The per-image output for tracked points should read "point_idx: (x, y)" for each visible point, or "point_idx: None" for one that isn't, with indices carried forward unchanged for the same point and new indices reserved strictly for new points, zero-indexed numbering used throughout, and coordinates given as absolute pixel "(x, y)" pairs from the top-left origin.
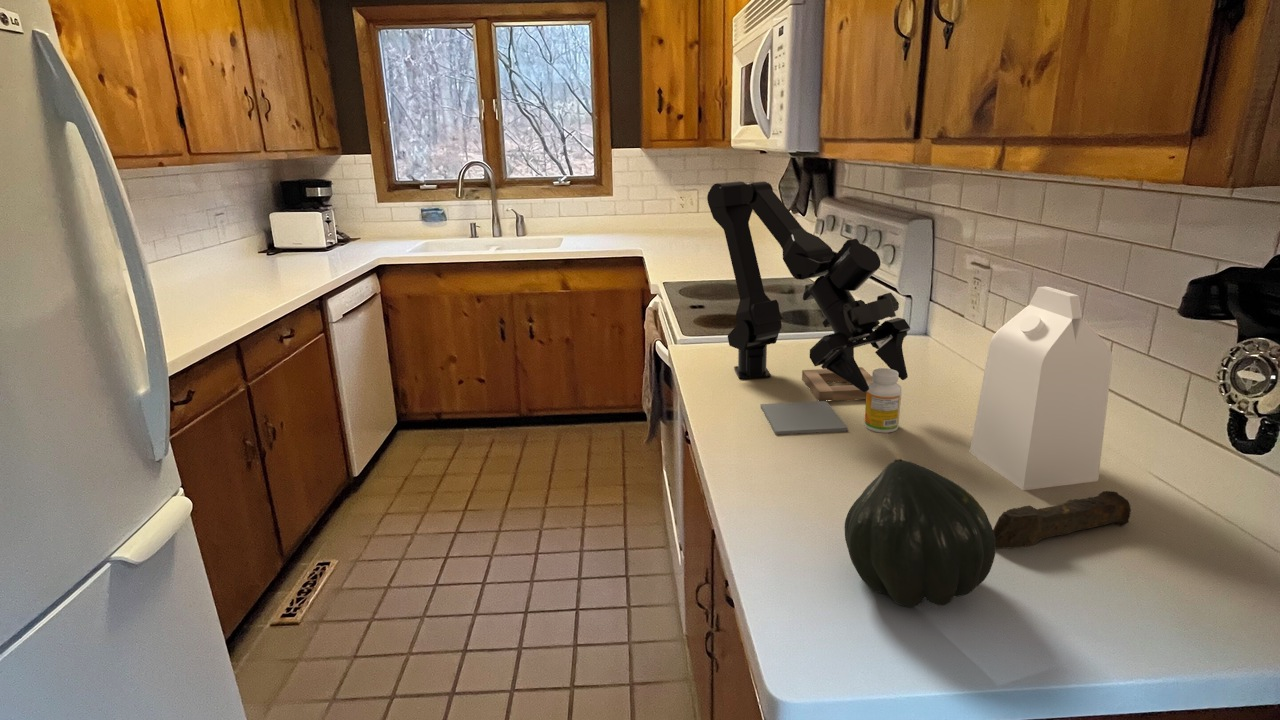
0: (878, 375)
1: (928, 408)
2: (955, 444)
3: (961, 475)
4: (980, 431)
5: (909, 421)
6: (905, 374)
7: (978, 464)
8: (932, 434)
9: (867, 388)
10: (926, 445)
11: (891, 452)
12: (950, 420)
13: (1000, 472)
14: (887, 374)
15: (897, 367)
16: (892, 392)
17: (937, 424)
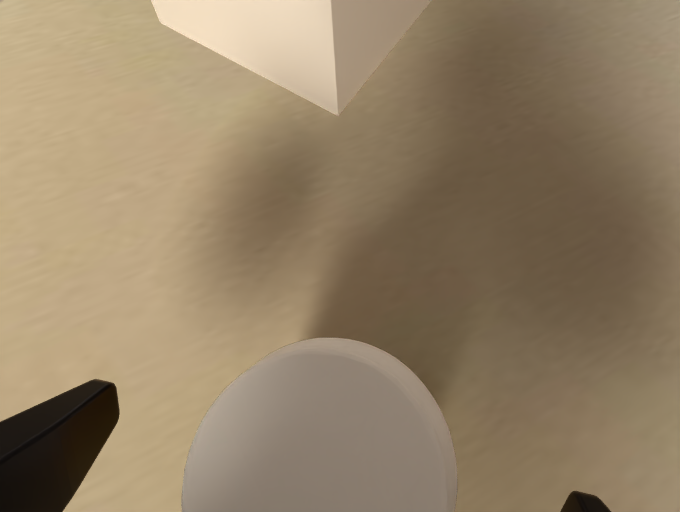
0: (445, 497)
1: (13, 384)
2: (308, 165)
3: (503, 74)
4: (356, 12)
5: (205, 378)
6: (95, 392)
7: (400, 71)
8: (276, 252)
9: (596, 500)
10: (383, 226)
11: (533, 287)
12: (105, 261)
13: (417, 14)
14: (369, 426)
15: (22, 500)
16: (391, 358)
17: (171, 280)
